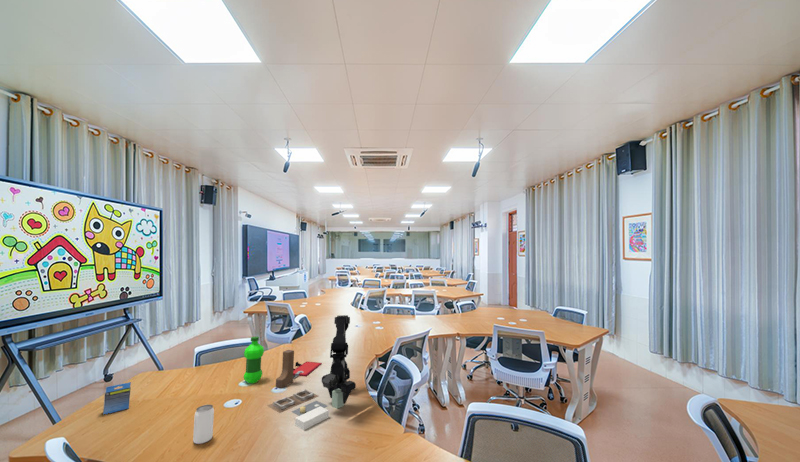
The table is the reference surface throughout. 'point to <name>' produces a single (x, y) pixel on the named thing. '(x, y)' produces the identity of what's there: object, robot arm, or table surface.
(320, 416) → the cover
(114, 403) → the label tape box
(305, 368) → the red board with handle
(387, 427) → the table surface
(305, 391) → the build board
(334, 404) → the peg
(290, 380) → the wooden block
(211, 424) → the can
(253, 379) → the plastic bottle
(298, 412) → the board
